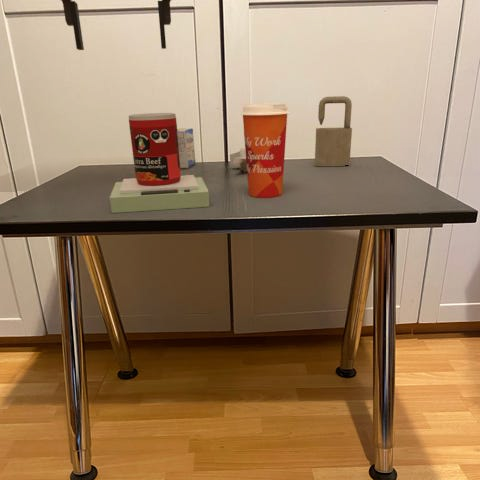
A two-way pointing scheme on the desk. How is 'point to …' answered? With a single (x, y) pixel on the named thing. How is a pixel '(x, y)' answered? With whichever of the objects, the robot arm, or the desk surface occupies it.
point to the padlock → (333, 137)
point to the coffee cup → (265, 147)
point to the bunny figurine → (239, 159)
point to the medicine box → (186, 147)
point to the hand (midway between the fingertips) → (122, 49)
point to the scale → (159, 195)
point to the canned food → (155, 148)
